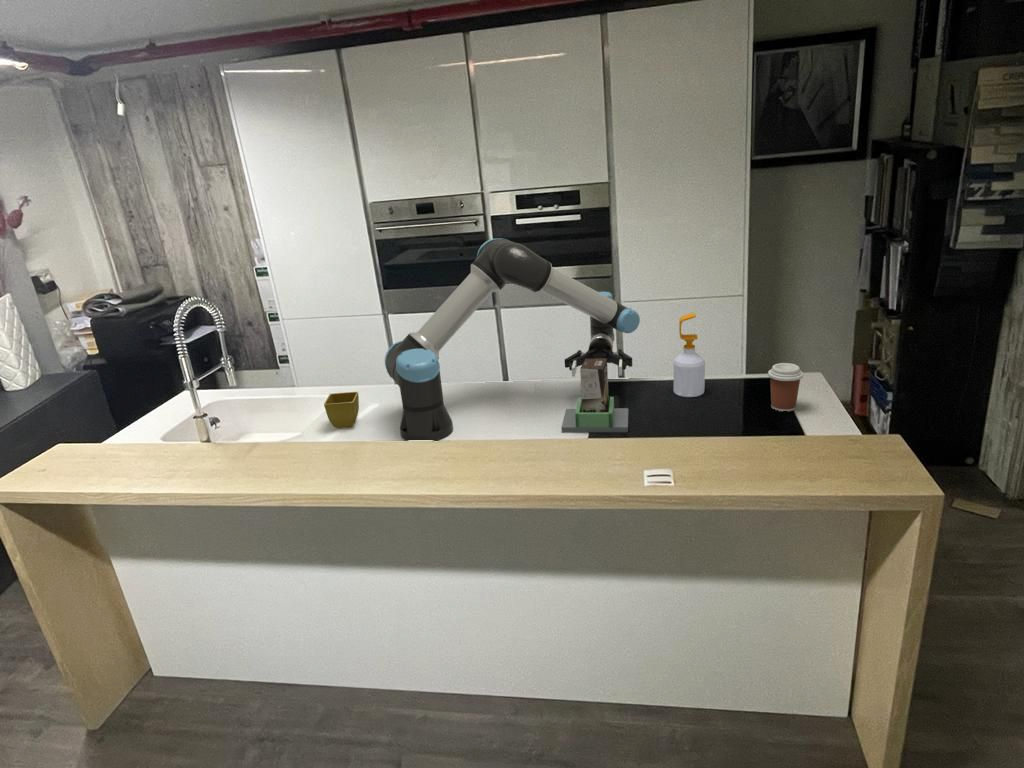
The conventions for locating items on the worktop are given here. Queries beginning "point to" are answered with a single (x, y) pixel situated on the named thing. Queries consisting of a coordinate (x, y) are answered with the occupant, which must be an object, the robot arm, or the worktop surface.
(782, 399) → the coffee cup
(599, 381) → the coffee box
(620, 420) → the chute bracket
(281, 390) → the worktop surface
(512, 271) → the robot arm
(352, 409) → the flower pot
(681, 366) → the soap bottle
